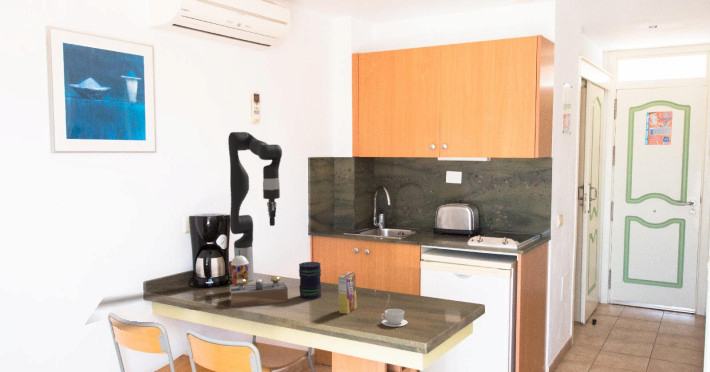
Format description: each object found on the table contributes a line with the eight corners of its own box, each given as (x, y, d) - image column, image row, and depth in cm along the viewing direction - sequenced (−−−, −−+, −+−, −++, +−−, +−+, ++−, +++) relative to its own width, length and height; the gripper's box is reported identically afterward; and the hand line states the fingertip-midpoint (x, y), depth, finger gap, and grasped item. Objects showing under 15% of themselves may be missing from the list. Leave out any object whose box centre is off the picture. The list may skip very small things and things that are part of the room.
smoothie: (247, 293, 266) (246, 251, 264) (230, 294, 266) (228, 251, 264) (251, 289, 274) (250, 247, 272) (234, 289, 274) (232, 248, 273)
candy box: (347, 307, 241) (346, 271, 240) (356, 308, 239) (356, 272, 238) (338, 313, 233) (337, 276, 232) (347, 314, 231) (347, 277, 230)
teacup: (406, 319, 224) (405, 307, 224) (409, 327, 214) (409, 315, 214) (380, 319, 224) (380, 308, 224) (382, 328, 214) (382, 315, 214)
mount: (231, 299, 257) (230, 286, 257) (284, 294, 263) (284, 281, 262) (232, 306, 245) (231, 292, 245) (287, 301, 251) (287, 288, 251)
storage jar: (323, 293, 263) (322, 261, 262) (319, 299, 253) (318, 266, 252) (301, 293, 264) (301, 261, 263) (297, 299, 254) (296, 266, 253)
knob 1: (237, 299, 254) (236, 278, 253) (246, 298, 255) (245, 278, 254) (237, 301, 250) (236, 281, 249) (246, 301, 251) (246, 280, 250)
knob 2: (271, 296, 257) (270, 276, 257) (279, 295, 258) (279, 275, 258) (271, 298, 253) (271, 278, 253) (281, 298, 254) (280, 277, 254)
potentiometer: (255, 288, 251) (255, 279, 251) (262, 288, 252) (262, 279, 252) (256, 290, 248) (255, 281, 248) (263, 289, 249) (262, 280, 249)
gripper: (261, 187, 268) (262, 223, 270) (264, 189, 255) (265, 228, 257) (277, 186, 270) (278, 223, 271) (281, 189, 257) (282, 227, 259)
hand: (272, 225), depth 264 cm, fingers closed
